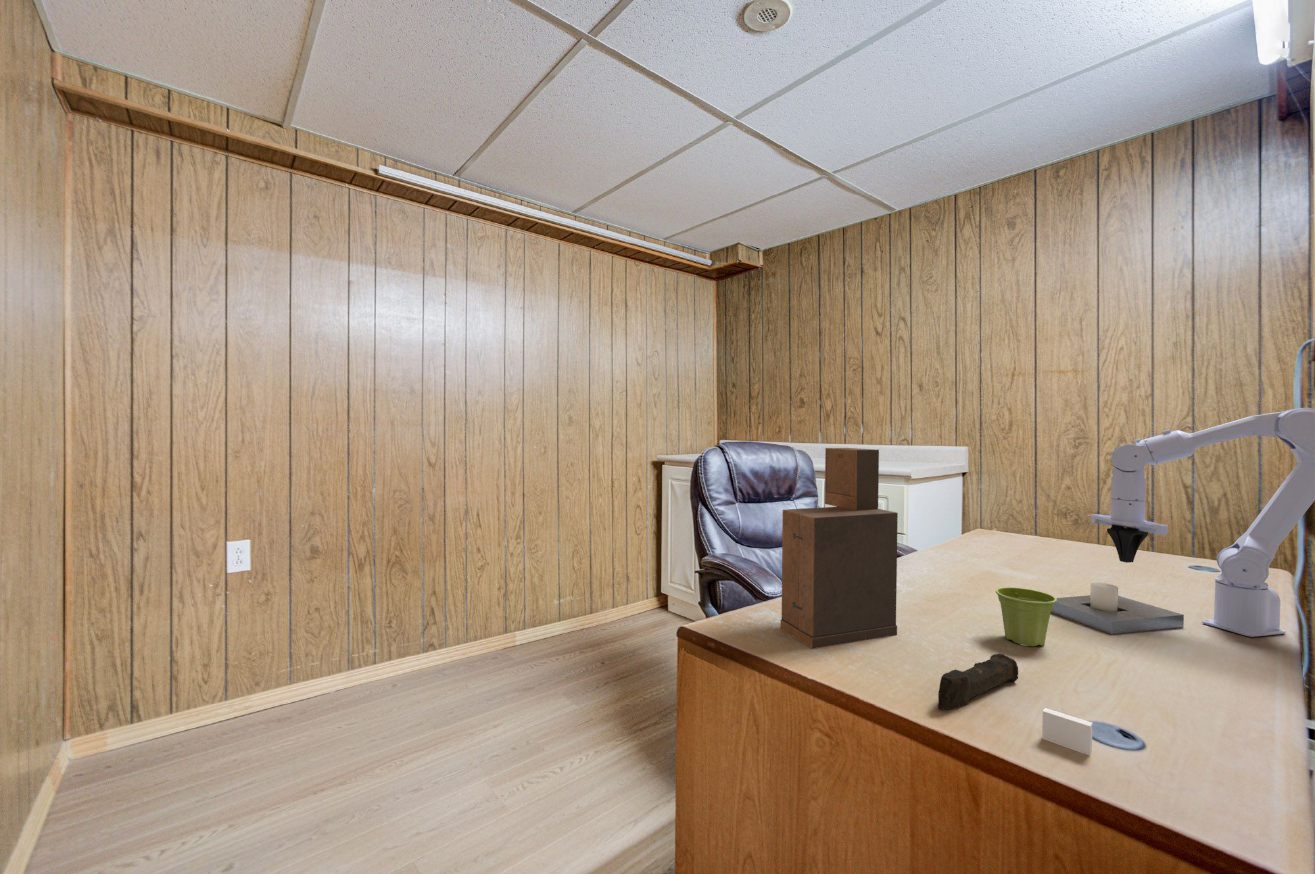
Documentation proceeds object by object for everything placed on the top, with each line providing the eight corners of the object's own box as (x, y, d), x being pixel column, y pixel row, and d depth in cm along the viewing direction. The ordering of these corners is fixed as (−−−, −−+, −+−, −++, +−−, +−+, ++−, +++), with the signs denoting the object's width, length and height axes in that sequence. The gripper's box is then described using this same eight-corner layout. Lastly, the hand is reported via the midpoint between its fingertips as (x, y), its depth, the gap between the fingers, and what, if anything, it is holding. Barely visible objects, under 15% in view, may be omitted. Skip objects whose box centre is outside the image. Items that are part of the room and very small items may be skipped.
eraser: (1090, 756, 66) (1090, 726, 66) (1041, 739, 70) (1042, 710, 70) (1092, 752, 67) (1092, 722, 67) (1044, 735, 71) (1044, 707, 71)
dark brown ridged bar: (992, 674, 89) (992, 645, 89) (1019, 684, 85) (1019, 654, 85) (920, 704, 79) (920, 672, 79) (947, 717, 75) (947, 683, 75)
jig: (1111, 604, 123) (1111, 593, 123) (1183, 627, 109) (1183, 614, 109) (1045, 610, 119) (1045, 598, 119) (1111, 634, 105) (1111, 621, 105)
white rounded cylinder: (1102, 615, 116) (1103, 582, 116) (1123, 622, 112) (1124, 588, 112) (1084, 616, 115) (1085, 583, 115) (1104, 623, 111) (1105, 589, 111)
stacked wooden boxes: (847, 611, 118) (849, 447, 117) (897, 635, 104) (899, 450, 104) (769, 621, 111) (771, 448, 110) (812, 648, 98) (814, 451, 97)
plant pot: (994, 627, 108) (995, 584, 108) (1053, 637, 104) (1053, 591, 103) (995, 643, 100) (995, 596, 100) (1058, 655, 96) (1059, 605, 95)
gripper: (1080, 495, 126) (1079, 554, 126) (1150, 504, 111) (1148, 571, 112) (1105, 494, 127) (1103, 553, 127) (1176, 503, 113) (1175, 569, 113)
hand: (1126, 561), depth 120 cm, fingers closed
